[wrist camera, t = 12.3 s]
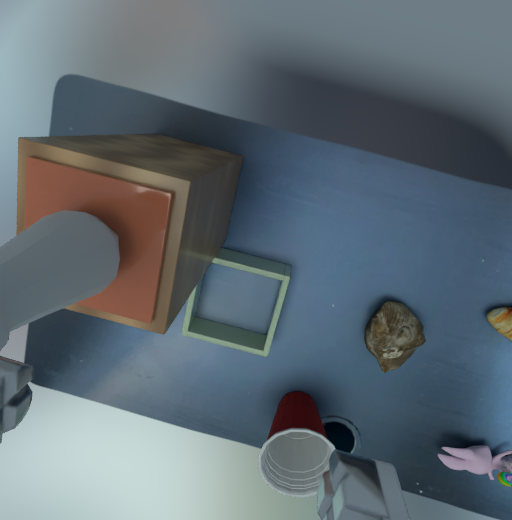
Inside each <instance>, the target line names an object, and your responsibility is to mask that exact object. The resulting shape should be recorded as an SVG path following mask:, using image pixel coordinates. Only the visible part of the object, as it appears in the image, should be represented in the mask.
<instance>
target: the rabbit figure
mask: <svg viewBox="0 0 512 520" xmlns="http://www.w3.org/2000/svg"><path fill="white" fill-rule="evenodd" d="M442 449H443V450H445V451H447V452H448V453H450V454H451V455H453V456H456V457H452V456H447V455H442V454H438V457H439V458H440V460H441V461H442V462H443V463H444V464H445V465H446V466H448V467H449V468H452V469H455V470H463V469H466V470H468V471H470V472H472V473H475V474H485V473H487V472H488V475H489V478H490V479H491V480H494V477H493V476H492V470H493V469H498V470H500V473H499V474H498V475H497V479H498V481H499V482H500V483H501V484H503V485H505V486H512V485H511V484H510V483H509V482H508V481H509V480H511V479H512V455H509V456H506V457H503V456H505V455H508V454H512V451H511V450H507V451H505V452H502V453H500V454H498V455H496V456H493V457H492V455H491V451H490V449H489V447H488V446H486V445H480V446H470V447H468V448H463V449H462V448H451V447H442ZM458 457H459V458H458ZM501 457H502V458H501Z"/></svg>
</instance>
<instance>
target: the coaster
mask: <svg viewBox="0 0 512 520" xmlns="http://www.w3.org/2000/svg"><path fill="white" fill-rule="evenodd" d="M173 195H174V192H171V191H167V190H163V189H159V188H155V187H151V186H147V185H143V184H139V183H135V182H131V181H128V180H124V179H120V178H116V177H112V176H108V175H104V174H100V173H96V172H92V171H88V170H84V169H80V168H77V167H73V166H69V165H65V164H61V163H57V162H53V161H49V160H45V159H41V158H37V157H33V156H28V157H26V182H25V222H24V230H26V229H27V228H28V227H30V226H31V225H33V224H34V223H35V222H37V221H38V220H40V219H41V218H43V217H45V216H47V215H50V214H53V213H56V212H59V211H64V210H67V211H77V212H86V213H88V214H91V215H93V216H96V217H98V218H99V219H100V220H101V221H103V222H104V223H105V224H106V225H107V226H108V227H109V228H110V229H111V230H112V231H114V232H115V233H116V234H117V235H118V237H119V254H120V262H119V267H118V271H117V276H116V277H115V279H114V280H113V281H112V282H111V283H110V284H109V285H108V286H107V287H106V288H105V289H104V291H103V292H101V293H98V294H96V295H94V296H91V297H89V298H86V299H84V300H82V301H79V302H77V303H74V304H77V305H80V306H84V307H88V308H92V309H96V310H99V311H103V312H107V313H111V314H115V315H119V316H122V317H126V318H130V319H134V320H138V321H141V322H145V323H149V324H151V323H152V322H153V320H154V314H155V308H156V302H157V295H158V289H159V283H160V277H161V270H162V264H163V258H164V252H165V245H166V239H167V233H168V227H169V220H170V214H171V208H172V202H173Z"/></svg>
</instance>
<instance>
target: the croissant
mask: <svg viewBox="0 0 512 520" xmlns="http://www.w3.org/2000/svg"><path fill="white" fill-rule="evenodd" d="M487 319H488V321H489V323H492V326H493V327H494V328H495V329H496V331H497V332H499V333H501V334H502V335H503V336H505V337H507V338H508V339H509V340H511V342H512V308H511V307H509V308H508V307H502V308H497V309H494V310H492V311H491V312H489V313H488V314H487Z"/></svg>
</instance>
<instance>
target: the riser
mask: <svg viewBox="0 0 512 520" xmlns="http://www.w3.org/2000/svg"><path fill="white" fill-rule="evenodd" d="M28 156H33V157H37V158H41V159H45V160H49V161H53V162H57V163H61V164H65V165H69V166H73V167H77V168H80V169H84V170H88V171H92V172H96V173H100V174H104V175H108V176H112V177H116V178H120V179H124V180H128V181H131V182H135V183H139V184H143V185H147V186H151V187H155V188H159V189H163V190H167V191H171V192H174V195H173V202H172V208H171V214H170V220H169V227H168V233H167V239H166V245H165V252H164V258H163V264H162V270H161V277H160V283H159V289H158V295H157V302H156V308H155V314H154V320H153V322H152V323H151V324H149V323H145V322H141V321H138V320H134V319H130V318H126V317H122V316H119V315H115V314H111V313H107V312H103V311H99V310H96V309H92V308H88V307H84V306H80V305H77V304H72V305H70V306H67V307H65V309H69V310H73V311H76V312H80V313H84V314H88V315H92V316H95V317H99V318H103V319H107V320H111V321H114V322H118V323H122V324H126V325H130V326H133V327H137V328H141V329H145V330H149V331H152V332H156V333H160V334H165V333H166V331H167V330H168V328H169V327H170V325H171V324H172V322H173V321H174V319H175V318H176V316H177V314H178V313H179V311H180V310H181V308H182V307H183V305H184V304H185V302H186V301H187V299H188V298H189V296H190V295H191V293H192V291H193V290H194V288H195V287H196V285H197V284H198V282H199V281H200V279H201V278H202V276H203V275H204V273H205V271H206V270H207V268H208V267H209V265H210V264H211V262H212V261H213V259H214V258H215V256H216V255H217V253H218V252H219V250H220V248H221V247H222V245H223V244H224V242H225V240H226V235H227V231H228V226H229V221H230V217H231V212H232V208H233V203H234V198H235V194H236V189H237V184H238V180H239V175H240V170H241V166H242V161H243V157H244V156H242V155H238V154H234V153H230V152H226V151H222V150H218V149H214V148H210V147H206V146H202V145H198V144H194V143H191V142H187V141H183V140H179V139H175V138H171V137H167V136H163V135H159V134H124V135H88V136H51V137H19V138H18V183H17V235H18V234H20V233H21V232H23V231H24V222H25V182H26V157H28Z"/></svg>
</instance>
